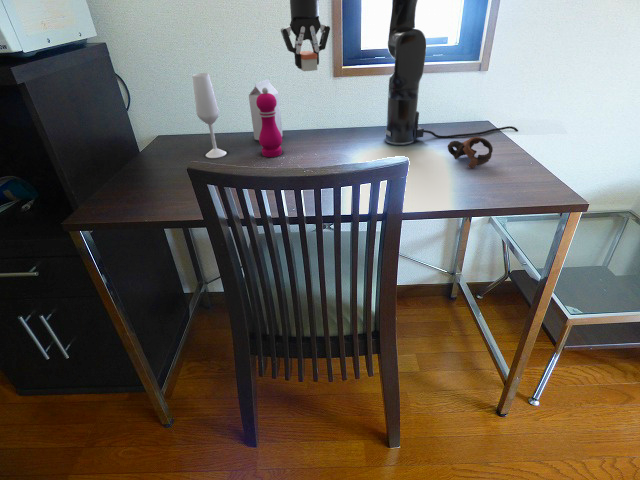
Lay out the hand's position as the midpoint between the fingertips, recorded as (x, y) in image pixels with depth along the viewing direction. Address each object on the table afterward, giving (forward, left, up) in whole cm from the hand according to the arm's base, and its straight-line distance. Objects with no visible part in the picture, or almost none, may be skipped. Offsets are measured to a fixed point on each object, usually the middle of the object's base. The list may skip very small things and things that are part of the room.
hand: (307, 67), depth 110 cm
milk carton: (+10, -18, -25) cm, 32 cm away
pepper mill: (+12, -3, -25) cm, 28 cm away
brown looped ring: (-39, +27, -25) cm, 54 cm away
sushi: (0, 0, 0) cm, 0 cm away
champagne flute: (+29, -10, -25) cm, 40 cm away
